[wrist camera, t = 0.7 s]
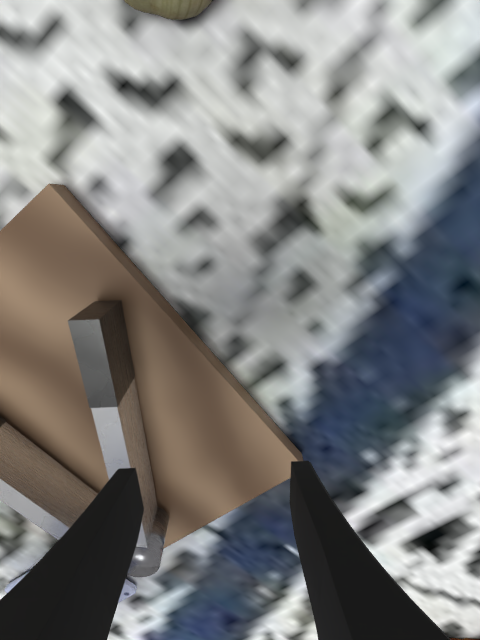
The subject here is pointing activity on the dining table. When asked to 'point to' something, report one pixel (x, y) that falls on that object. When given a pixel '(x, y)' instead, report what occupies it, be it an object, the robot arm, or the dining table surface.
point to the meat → (463, 639)
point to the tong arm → (119, 416)
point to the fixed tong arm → (39, 484)
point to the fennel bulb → (171, 7)
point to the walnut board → (149, 366)
